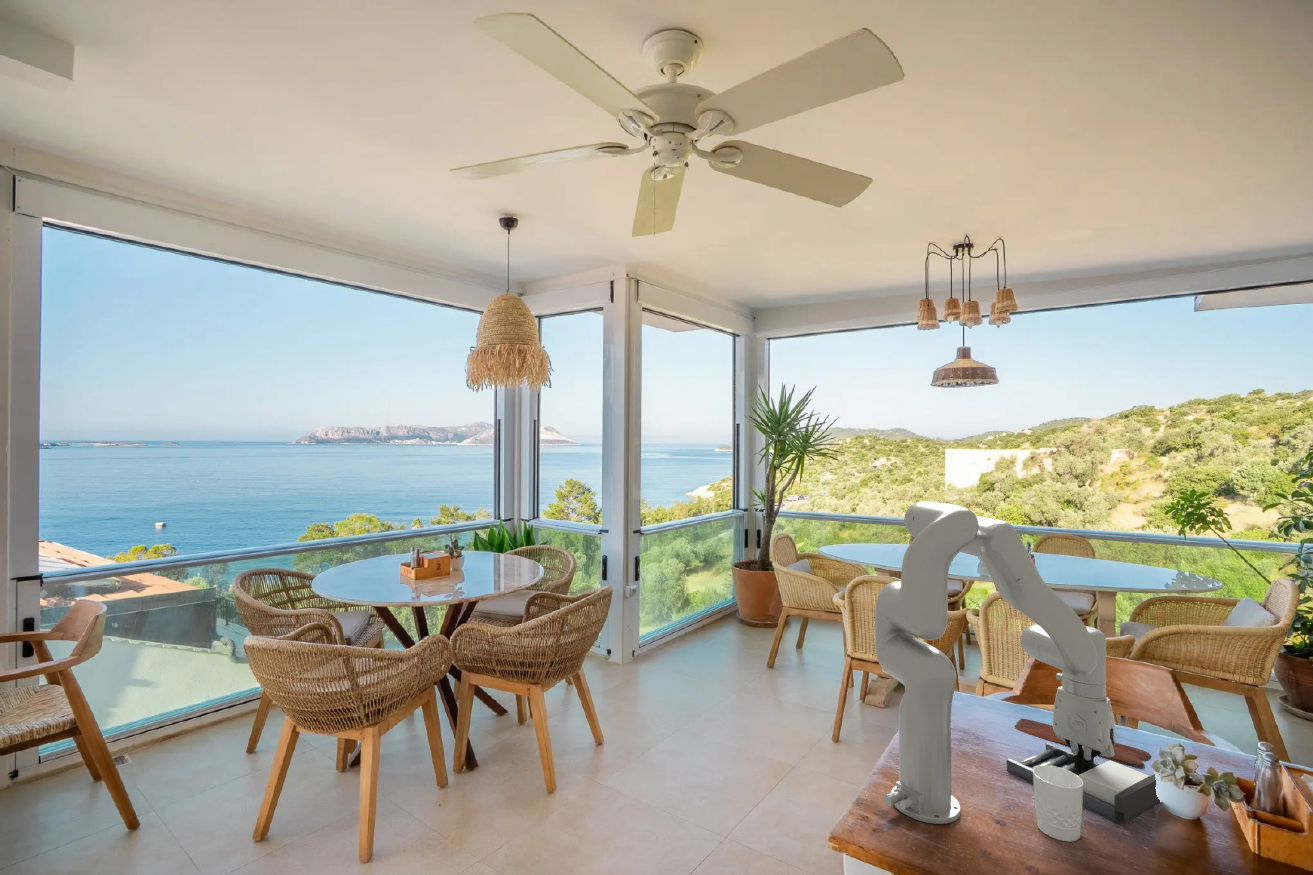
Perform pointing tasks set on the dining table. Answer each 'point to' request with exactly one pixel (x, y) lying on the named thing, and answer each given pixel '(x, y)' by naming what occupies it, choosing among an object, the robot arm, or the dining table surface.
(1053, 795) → the white cup
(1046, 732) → the wooden tablet
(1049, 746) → the roller track
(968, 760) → the dining table surface
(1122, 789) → the slab
